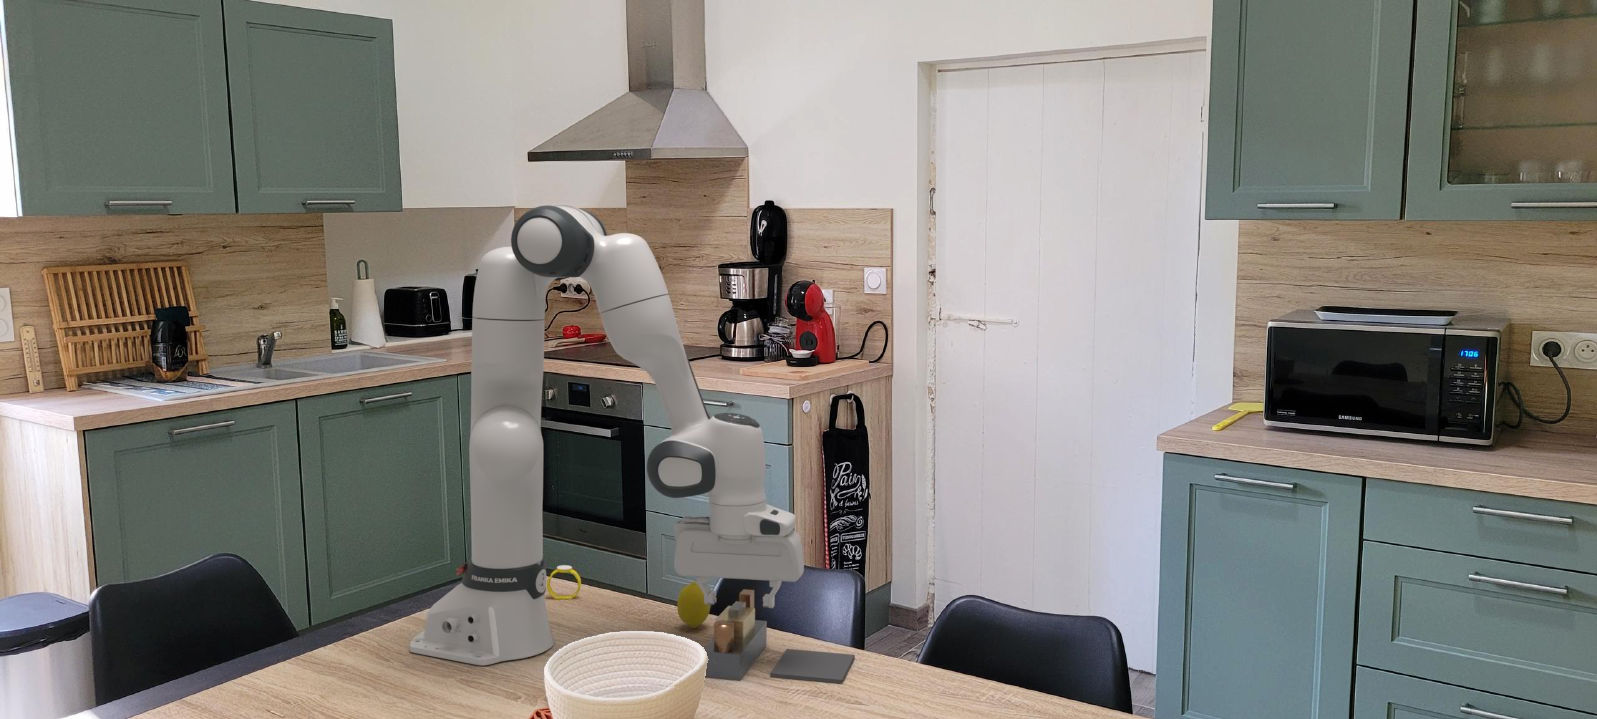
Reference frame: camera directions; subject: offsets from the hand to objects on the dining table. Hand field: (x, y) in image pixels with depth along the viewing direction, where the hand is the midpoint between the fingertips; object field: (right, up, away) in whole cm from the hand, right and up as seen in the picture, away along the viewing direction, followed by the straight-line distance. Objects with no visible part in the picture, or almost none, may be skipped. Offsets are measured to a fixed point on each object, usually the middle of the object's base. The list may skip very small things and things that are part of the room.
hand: (739, 605), depth 181 cm
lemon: (-9, -7, +16) cm, 19 cm away
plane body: (-1, -9, +1) cm, 9 cm away
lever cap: (-1, -5, 0) cm, 5 cm away
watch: (-34, -6, +32) cm, 47 cm away
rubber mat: (+11, -9, -2) cm, 15 cm away
